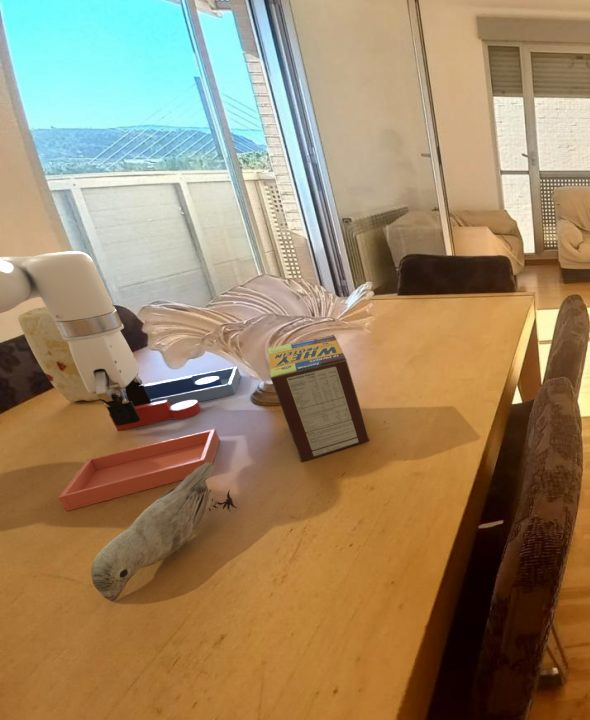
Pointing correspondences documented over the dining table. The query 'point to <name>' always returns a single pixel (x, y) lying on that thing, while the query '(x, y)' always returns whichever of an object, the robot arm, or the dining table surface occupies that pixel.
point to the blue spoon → (180, 386)
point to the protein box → (317, 396)
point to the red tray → (139, 469)
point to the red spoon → (163, 412)
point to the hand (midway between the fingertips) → (134, 413)
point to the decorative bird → (155, 533)
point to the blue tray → (228, 387)
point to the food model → (54, 354)
